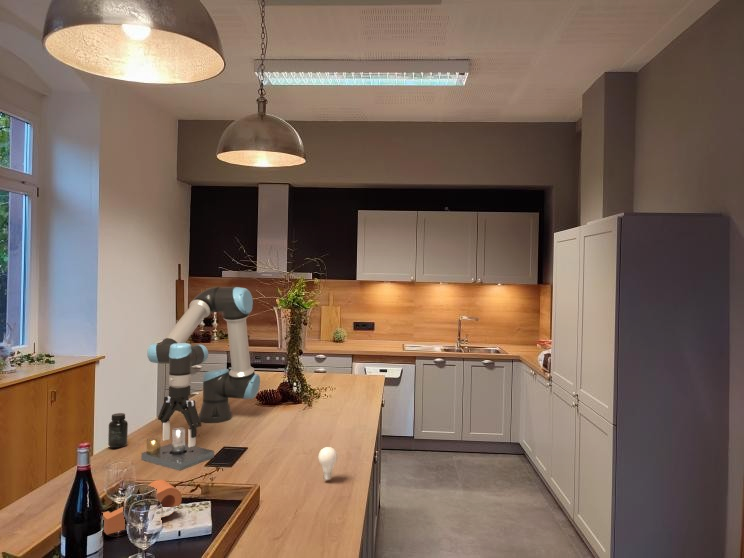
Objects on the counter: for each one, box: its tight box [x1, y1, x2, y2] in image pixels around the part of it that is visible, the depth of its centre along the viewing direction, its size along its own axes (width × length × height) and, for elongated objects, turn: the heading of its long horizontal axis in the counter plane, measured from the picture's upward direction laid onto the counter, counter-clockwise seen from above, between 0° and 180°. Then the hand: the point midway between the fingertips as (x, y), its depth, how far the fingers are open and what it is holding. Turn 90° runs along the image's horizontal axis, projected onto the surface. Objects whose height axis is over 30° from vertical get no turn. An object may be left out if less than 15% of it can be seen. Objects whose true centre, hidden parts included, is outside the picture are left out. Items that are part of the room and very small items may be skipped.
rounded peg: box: [171, 426, 186, 455], centre depth 195 cm, size 5×5×11 cm
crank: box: [102, 479, 183, 536], centre depth 147 cm, size 20×8×8 cm, turn 134°
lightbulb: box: [318, 446, 338, 482], centre depth 177 cm, size 6×6×11 cm
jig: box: [141, 436, 215, 472], centre depth 195 cm, size 20×16×7 cm
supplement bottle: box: [107, 412, 129, 448], centre depth 209 cm, size 7×7×12 cm
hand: (178, 443), depth 195 cm, fingers open, 13 cm apart
